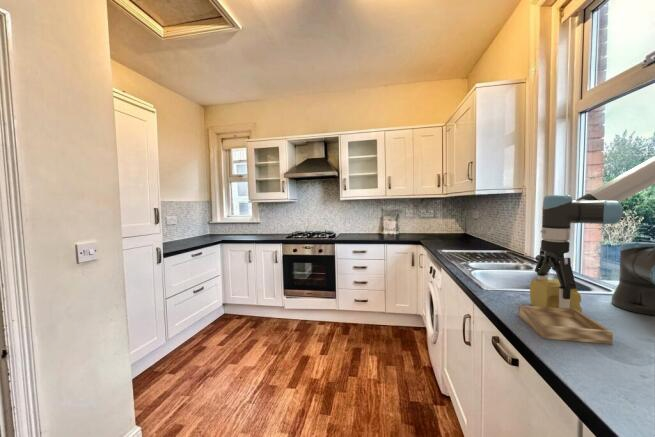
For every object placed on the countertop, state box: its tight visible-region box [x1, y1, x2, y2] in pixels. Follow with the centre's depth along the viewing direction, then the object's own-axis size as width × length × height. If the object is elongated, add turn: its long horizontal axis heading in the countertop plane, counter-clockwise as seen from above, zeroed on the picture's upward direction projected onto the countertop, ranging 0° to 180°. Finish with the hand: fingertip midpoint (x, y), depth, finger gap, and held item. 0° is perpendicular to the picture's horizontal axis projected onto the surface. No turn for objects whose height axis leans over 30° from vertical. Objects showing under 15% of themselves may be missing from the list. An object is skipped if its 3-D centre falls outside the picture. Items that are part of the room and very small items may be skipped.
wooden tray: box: [518, 305, 614, 345], centre depth 83 cm, size 16×16×3 cm
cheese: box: [529, 278, 583, 313], centre depth 96 cm, size 10×11×10 cm
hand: (552, 300), depth 96 cm, fingers open, 13 cm apart
